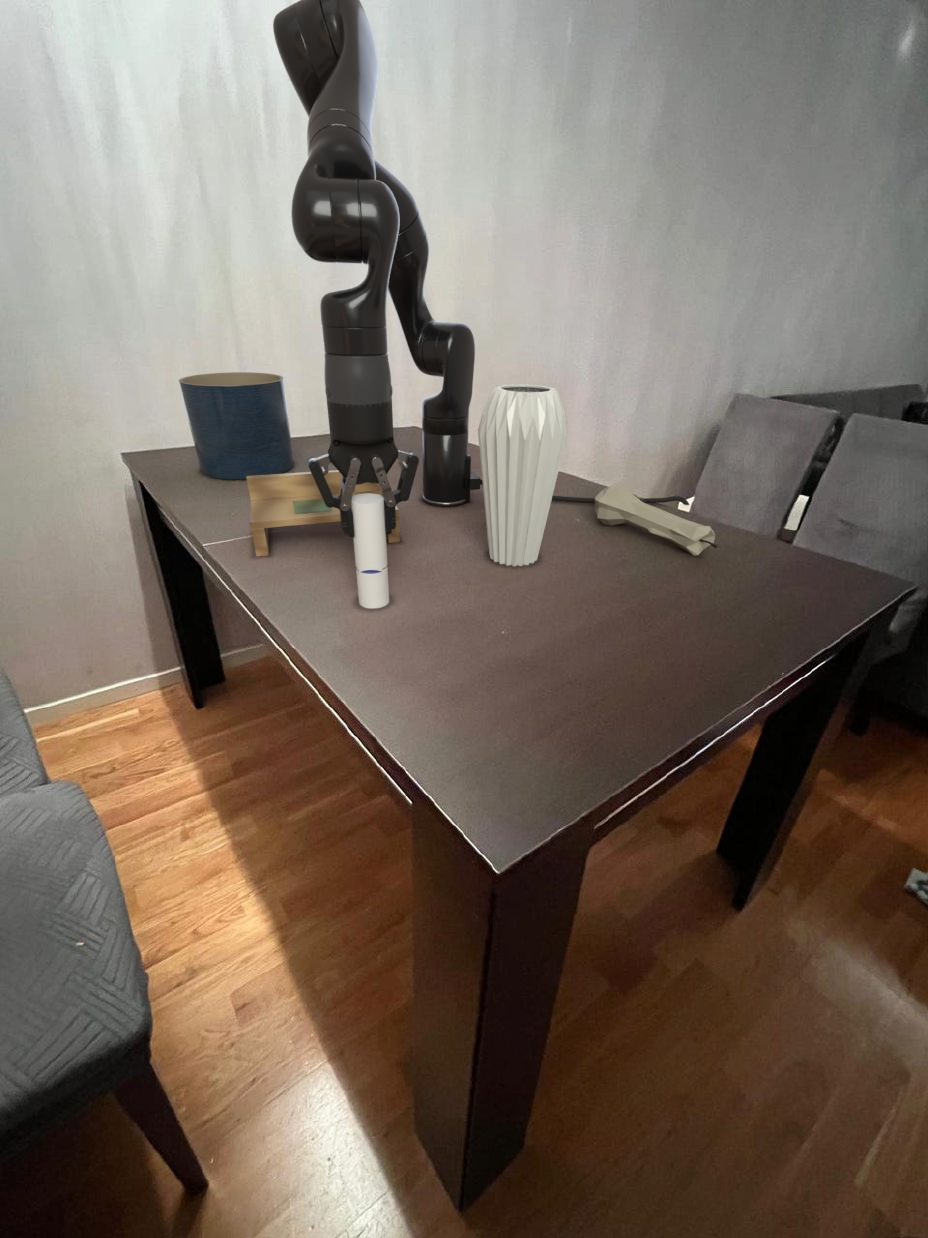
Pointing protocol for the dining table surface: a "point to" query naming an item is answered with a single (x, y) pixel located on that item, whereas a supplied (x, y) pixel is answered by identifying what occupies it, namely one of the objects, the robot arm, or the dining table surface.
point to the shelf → (296, 503)
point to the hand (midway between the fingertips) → (369, 533)
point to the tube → (370, 550)
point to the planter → (238, 423)
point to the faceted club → (651, 519)
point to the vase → (520, 467)
